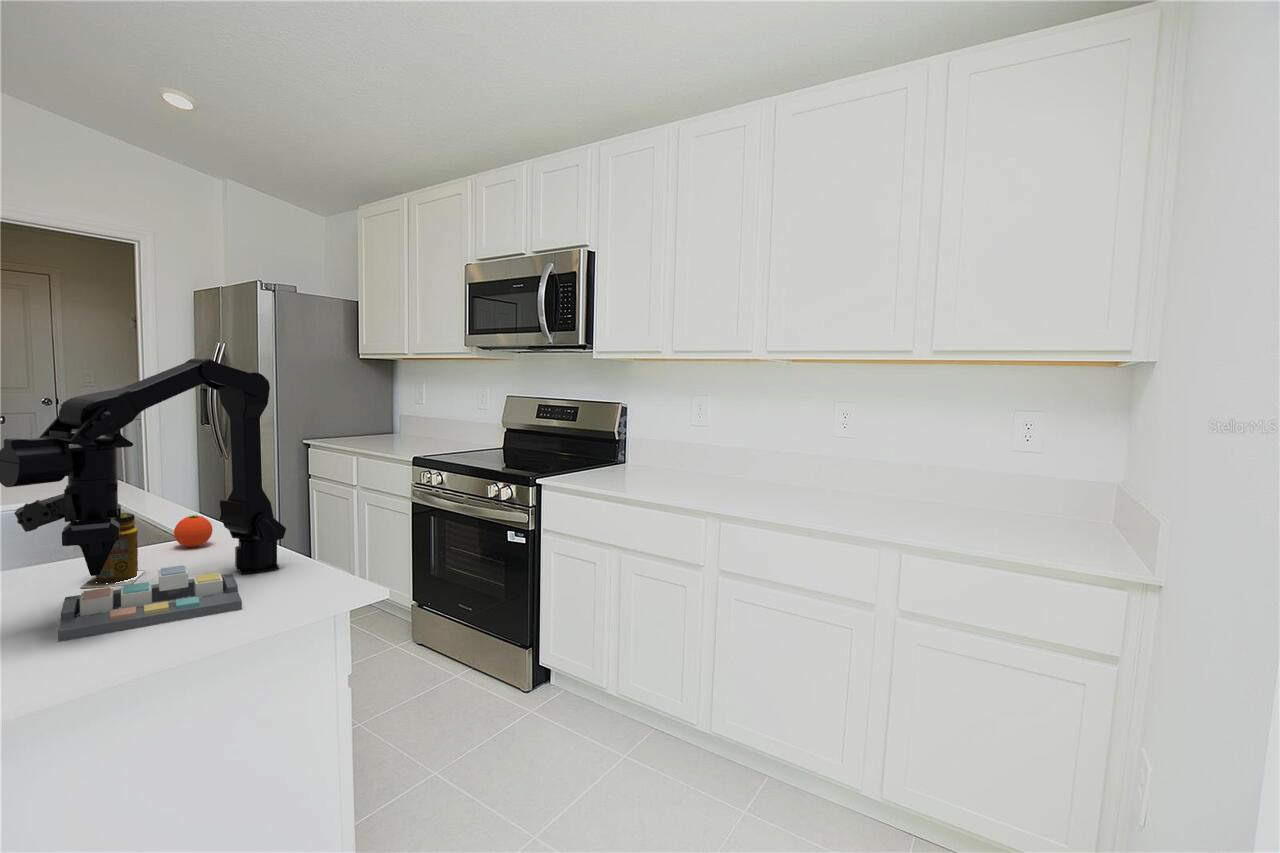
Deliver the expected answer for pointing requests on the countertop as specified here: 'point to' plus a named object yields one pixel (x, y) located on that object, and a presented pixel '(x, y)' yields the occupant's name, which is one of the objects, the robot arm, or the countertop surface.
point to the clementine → (193, 531)
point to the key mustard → (208, 585)
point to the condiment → (120, 557)
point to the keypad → (147, 610)
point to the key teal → (136, 595)
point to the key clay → (96, 601)
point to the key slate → (173, 579)
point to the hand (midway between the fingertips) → (95, 574)
